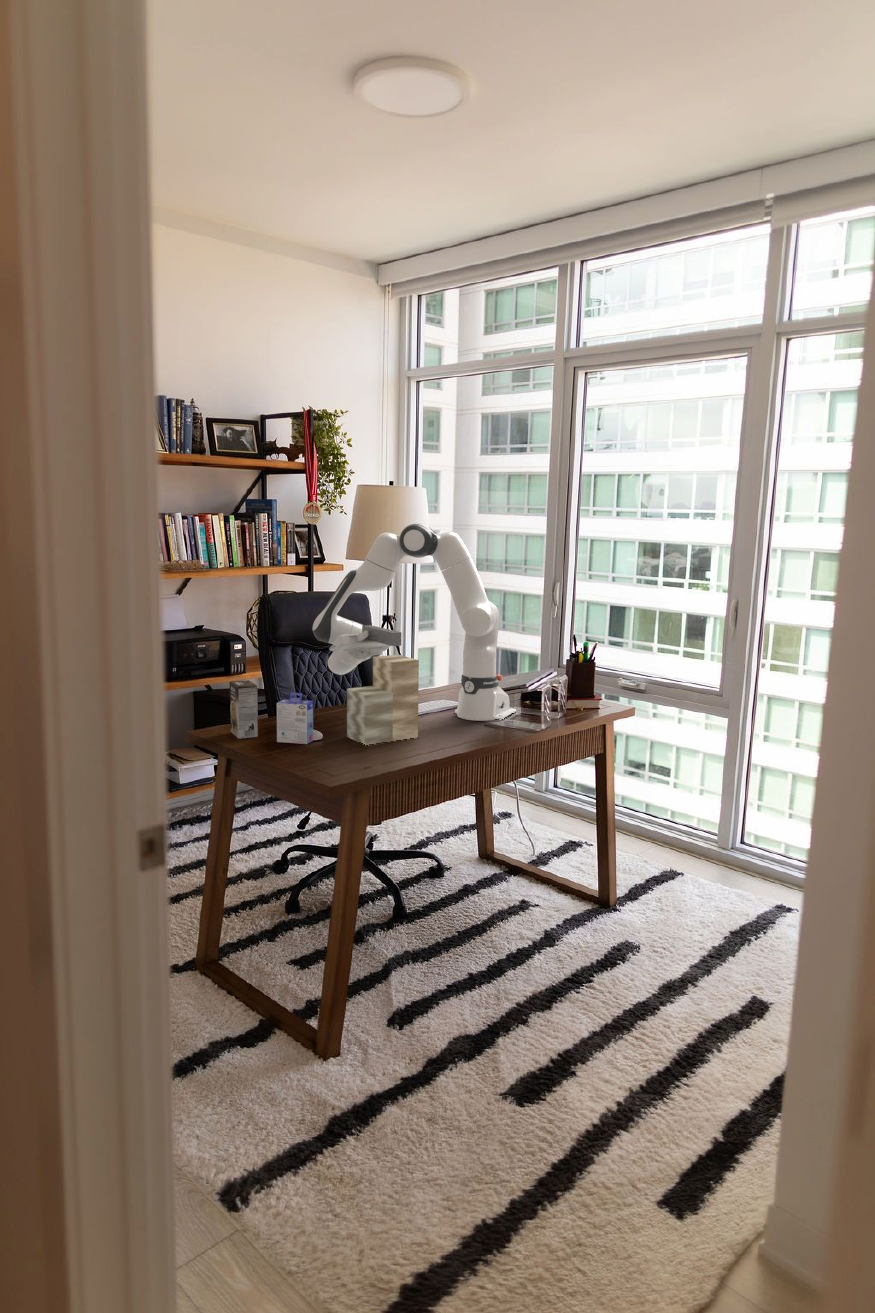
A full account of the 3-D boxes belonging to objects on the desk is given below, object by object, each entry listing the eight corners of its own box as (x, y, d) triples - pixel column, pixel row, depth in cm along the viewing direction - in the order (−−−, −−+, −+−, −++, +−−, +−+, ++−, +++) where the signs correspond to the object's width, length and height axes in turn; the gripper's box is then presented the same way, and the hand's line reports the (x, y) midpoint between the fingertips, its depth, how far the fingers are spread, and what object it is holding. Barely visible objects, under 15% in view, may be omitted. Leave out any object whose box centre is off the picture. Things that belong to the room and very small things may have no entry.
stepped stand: (347, 736, 272) (346, 659, 268) (397, 729, 282) (398, 654, 278) (366, 745, 262) (366, 665, 258) (418, 737, 272) (418, 660, 268)
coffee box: (230, 732, 276) (228, 681, 273) (250, 730, 279) (249, 679, 276) (237, 739, 268) (236, 686, 265) (258, 736, 271) (257, 684, 268)
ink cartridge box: (314, 740, 268) (314, 692, 265) (308, 744, 262) (307, 696, 260) (283, 738, 270) (282, 691, 267) (276, 742, 264) (275, 694, 262)
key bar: (362, 638, 284) (362, 625, 283) (370, 637, 286) (370, 625, 285) (392, 646, 268) (392, 632, 268) (401, 645, 270) (401, 632, 269)
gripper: (325, 641, 286) (342, 624, 275) (380, 637, 297) (399, 621, 286) (329, 660, 284) (347, 643, 274) (385, 655, 296) (404, 639, 285)
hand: (374, 632), depth 280 cm, fingers closed on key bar, 3 cm apart
